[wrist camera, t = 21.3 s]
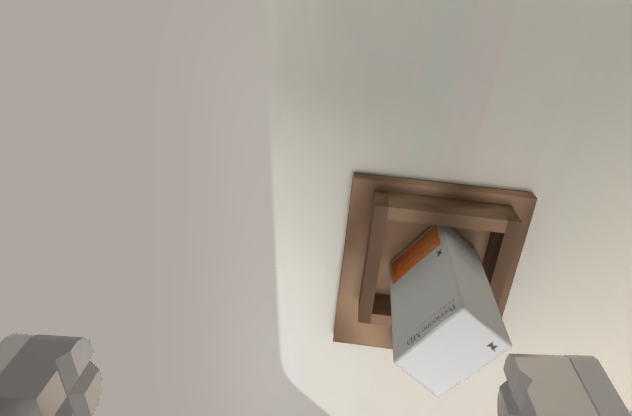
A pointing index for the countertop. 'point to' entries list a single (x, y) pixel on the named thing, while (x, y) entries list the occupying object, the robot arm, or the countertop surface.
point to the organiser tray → (406, 227)
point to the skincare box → (443, 311)
